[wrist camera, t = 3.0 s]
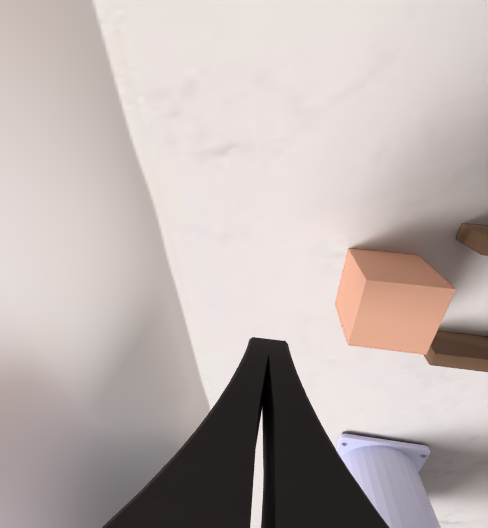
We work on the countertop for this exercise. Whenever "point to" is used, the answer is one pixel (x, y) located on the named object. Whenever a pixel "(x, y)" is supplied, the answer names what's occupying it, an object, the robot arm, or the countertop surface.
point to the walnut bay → (454, 344)
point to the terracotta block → (391, 301)
